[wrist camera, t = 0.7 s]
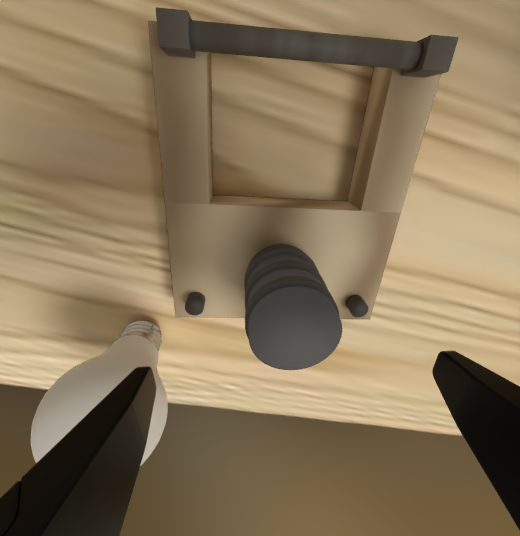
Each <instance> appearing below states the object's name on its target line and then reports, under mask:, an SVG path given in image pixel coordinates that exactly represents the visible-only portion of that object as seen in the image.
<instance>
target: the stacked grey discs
mask: <svg viewBox="0 0 520 536" xmlns="http://www.w3.org/2000/svg"><path fill="white" fill-rule="evenodd" d="M244 289H245V311H246V312H245V329H246V334H247V337H248V339H249V343H250V347H251V349H252V351H253V353H254V354H255V356H256V357H257V358H258V359H259V360H260V361H262V362H263V363H265V364H267V365H269V366H271V367H274V368H277V369H283V370H298V369H304V368H308V367H311V366H313V365H315V364H318V363H319V362H321V361H323V360H324V359H326V358H327V357H328V356H329V355H330V354H331V353H332V352H333V351H334V350H335V348H336V347H337V345H338V343H339V341H340V338H341V335H342V324H341V320H340V317H339V310H338V307H337V305H336V303H335V301H334V299H333V297H332V295H331V294H330V292H329V291H328V288H327V286H326V284H325V282H324V280H323V278H322V277H321V275H320V273H319V271H318V269H317V267H316V265H315V263H314V262H313V260H312V259H311V258H310V257H309V256H308V255H307V254H305V253H304V252H303V251H302V250H300V249H299V248H297V247H294V246H292V245H287V244H277V245H272V246H269V247H266V248H264V249H262V250H261V251H259V252H258V253H257V254H256V255H255V256H254V257H253V258H252V260H251V261H250V263H249V265H248V268H247V271H246V274H245V279H244Z"/></svg>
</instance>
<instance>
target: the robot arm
mask: <svg viewBox="0 0 520 536" xmlns="http://www.w3.org/2000/svg"><path fill="white" fill-rule="evenodd" d="M433 377H434V379H435V381H436V383H437V386H438V388H439V390H440V392H441V394H442V396H443V398H444V400H445V402H446V404H447V406H448V408H449V410H450V412H451V415H452V417H453V419H454V420H455V422H456V424H457V426H458V428H459V430H460V431H461V433H462V435H463V437H464V438H465V440H466V442H467V443H468V445H469V446H470V448H471V450H472V452H473V453H474V455H475V457H476V458H477V460H478V462H479V463H480V465H481V466H482V468H483V470H484V472H485V473H486V475H487V477H488V478H489V480H490V482H491V483H492V485H493V487H494V488H495V490H496V492H497V493H498V495H499V496H500V498H501V500H502V502H503V503H504V505H505V507H506V508H507V510H508V512H509V513H510V515H511V517H512V518H513V520H514V522H515V523H516V525H517V527H518V528H519V530H520V386H518V385H516V384H514V383H512V382H510V381H509V380H507V379H505V378H503V377H501V376H500V375H498V374H496V373H494V372H492V371H490V370H489V369H487V368H485V367H483V366H481V365H480V364H478V363H476V362H474V361H472V360H470V359H469V358H467V357H465V356H463V355H461V354H459V353H458V352H456V351H441V352H440V353H439V354H438V356H437V359H436V362H435V365H434V367H433ZM155 396H156V383H155V379H154V375H153V371H152V368H151V367H149V366H144V367H137V368H135V369H134V370H133V371H132V372H131V373H130V374H129V375H128V376H127V377H125V378H124V379H123V380H122V381H121V382H120V383H119V384H118V385H117V386H116V387H115V388H114V389H113V390H112V391H111V392H110V393H109V394H108V395H107V396H106V397H105V398H104V399H103V400H102V401H101V402H100V403H98V404H97V405H96V406H95V407H94V408H93V409H92V410H91V411H90V412H89V413H88V414H87V415H86V416H85V417H84V418H83V419H82V420H81V421H80V422H79V423H78V424H77V425H76V426H75V427H74V428H72V429H71V430H70V431H69V432H68V433H67V434H66V435H65V436H64V437H63V438H62V439H61V440H60V441H59V442H58V443H57V444H56V445H55V446H54V447H53V448H52V449H51V450H50V451H49V452H48V453H47V454H45V455H44V456H43V457H42V458H41V459H40V460H39V461H38V462H37V463H36V464H35V465H34V466H33V467H32V468H31V469H30V470H29V471H28V472H27V473H26V474H25V475H24V476H23V477H22V479H21V480H19V481H17V482H16V483H15V484H14V485H13V486H12V487H11V488H10V489H9V490H8V491H7V492H6V493H5V494H4V495H3V496H2V497H1V498H0V536H119V535H120V532H121V529H122V525H123V522H124V519H125V515H126V512H127V508H128V505H129V502H130V498H131V495H132V491H133V488H134V485H135V481H136V478H137V475H138V471H139V468H140V465H141V461H142V458H143V455H144V451H145V447H146V443H147V438H148V433H149V428H150V422H151V417H152V412H153V406H154V401H155Z"/></svg>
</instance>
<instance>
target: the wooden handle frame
mask: <svg viewBox="0 0 520 536" xmlns="http://www.w3.org/2000/svg"><path fill="white" fill-rule="evenodd" d="M156 17H157V22H154V21H148V26H149V37H150V48H151V58H152V69H153V80H154V91H155V102H156V113H157V123H158V134H159V145H160V156H161V167H162V178H163V188H164V199H165V210H166V221H167V232H168V243H169V253H170V264H171V275H172V286H173V297H174V308H175V317H207V318H245V312H246V311H245V289H244V279H245V274H246V271H247V268H248V265H249V263H250V261H251V260H252V258H253V257H254V256H255V255H256V254H257V253H258V252H259V251H261V250H262V249H264V248H266V247H269V246H272V245H277V244H287V245H292V246H294V247H297V248H299V249H300V250H302V251H303V252H304V253H305V254H307V255H308V256H309V257H310V258H311V259H312V260H313V262H314V263H315V265H316V267H317V269H318V271H319V273H320V275H321V277H322V278H323V280H324V282H325V284H326V286H327V288H328V291H329V292H330V294H331V295H332V297H333V299H334V301H335V303H336V305H337V307H338V310H339V317H340V319H370V317H371V314H372V310H373V307H374V303H375V300H376V296H377V293H378V290H379V286H380V283H381V279H382V276H383V272H384V269H385V265H386V262H387V259H388V255H389V252H390V248H391V245H392V241H393V238H394V234H395V231H396V228H397V224H398V221H399V217H400V214H401V210H402V207H403V204H404V200H405V197H406V193H407V190H408V186H409V183H410V179H411V176H412V173H413V169H414V166H415V162H416V159H417V155H418V152H419V148H420V145H421V142H422V138H423V135H424V131H425V128H426V124H427V121H428V118H429V114H430V111H431V107H432V104H433V100H434V97H435V93H436V90H437V87H438V83H439V80H440V76H441V74H442V73H446V72H448V71H449V67H450V64H451V61H452V57H453V54H454V51H455V47H456V44H457V41H458V37H449V36H439V35H430V36H428V37H426V38H424V39H422V40H419V41H417V42H411V41H401V40H390V39H380V38H369V37H359V36H349V35H338V34H328V33H317V32H307V31H297V30H286V29H276V28H265V27H255V26H245V25H234V24H224V23H213V22H203V21H193V20H192V19H191V17H190V15H189V13H188V11H186V10H176V9H165V8H156ZM211 53H222V54H234V55H245V56H257V57H268V58H280V59H291V60H302V61H314V62H325V63H337V64H348V65H359V66H371V67H374V71H373V76H372V81H371V86H370V91H369V96H368V101H367V106H366V111H365V116H364V121H363V126H362V131H361V136H360V141H359V146H358V151H357V156H356V161H355V166H354V171H353V176H352V181H351V186H350V191H349V196H348V201H329V200H308V199H286V198H265V197H244V196H222V195H213V159H212V91H211Z"/></svg>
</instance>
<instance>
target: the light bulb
mask: <svg viewBox="0 0 520 536" xmlns="http://www.w3.org/2000/svg"><path fill="white" fill-rule="evenodd" d="M161 342H162V340H161V331H160V329H159V327H158V326H157V325H155V324H154V323H151V322H148V321H135V322H132V323H129V324H128V325H127V326H126V327H125V328H124V331H123V332H122V334H121V335H120V338H119V339H118V340H116V341H115V342H114V343H113V344H112V345H111V346H110V348H109V349H108V350H107V351H106V352H105V353H103V354H101V355H99V356H97V357H95V358H92V359H90V360H87V361H85V362H83V363H81V364H79V365H77V366H75V367H73V368H72V369H71V370H69V371H68V372H66V373H65V374H64V375H63V376H61V377H60V378H59V379H58V380H57V381H56V382H55V383H54V384H53V386H52V387H51V388H50V389H49V390H48V391H47V393H46V394H45V395H44V397H43V399H42V401H41V402H40V404H39V406H38V408H37V411H36V414H35V417H34V420H33V423H32V430H31V447H32V452H33V456H34V459H35V462H36V463H37V462H38V461H39V460H40V459H41V458H42V457H43V456H44V455H45V454H47V453H48V452H49V451H50V450H51V449H52V448H53V447H54V446H55V445H56V444H57V443H58V442H59V441H60V440H61V439H62V438H63V437H64V436H65V435H66V434H67V433H68V432H69V431H70V430H71V429H72V428H74V427H75V426H76V425H77V424H78V423H79V422H80V421H81V420H82V419H83V418H84V417H85V416H86V415H87V414H88V413H89V412H90V411H91V410H92V409H93V408H94V407H95V406H96V405H97V404H98V403H100V402H101V401H102V400H103V399H104V398H105V397H106V396H107V395H108V394H109V393H110V392H111V391H112V390H113V389H114V388H115V387H116V386H117V385H118V384H119V383H120V382H121V381H122V380H123V379H124V378H125V377H127V376H128V375H129V374H130V373H131V372H132V371H133V370H134V369H135V368H137V367H144V366H149V367H151V368H152V371H153V375H154V379H155V383H156V396H155V401H154V406H153V412H152V417H151V422H150V428H149V433H148V438H147V443H146V447H145V451H144V455H143V458H142V461H141V465H142V464H143V463H144V461H145V460H146V459H147V458H148V457H149V456H150V454H151V453H152V452H153V450H154V448H155V447H156V445H157V443H158V442H159V440H160V438H161V435H162V432H163V429H164V426H165V423H166V418H167V395H166V392H165V388H164V386H163V383H162V381H161V378H160V376H159V374H158V371H157V363H158V351H159V348H160V345H161ZM141 465H140V466H141Z"/></svg>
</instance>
